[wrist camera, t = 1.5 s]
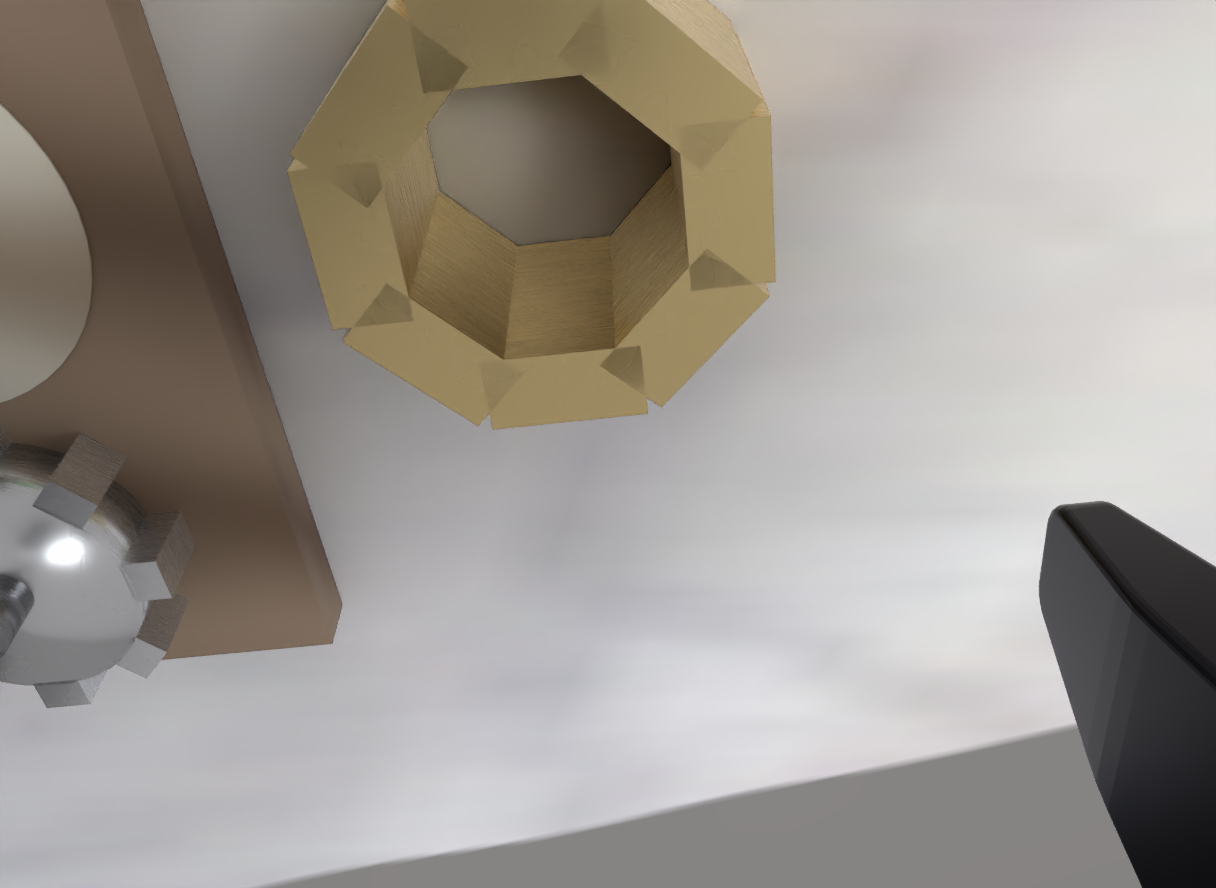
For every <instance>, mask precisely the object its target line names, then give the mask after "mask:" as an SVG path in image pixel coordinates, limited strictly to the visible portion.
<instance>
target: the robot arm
mask: <svg viewBox="0 0 1216 888" xmlns="http://www.w3.org/2000/svg"><path fill="white" fill-rule="evenodd" d="M1039 598H1040V605H1041V610H1042V614H1043V617H1044V621H1045V624H1046V627H1047V630H1048V633H1049V637H1050V640H1051V643H1052V646H1053V649H1054V652H1055V656H1056V659H1057V662H1058V665H1059V668H1060V672H1061V675H1062V678H1063V681H1064V684H1065V688H1066V691H1067V694H1068V697H1069V700H1070V704H1071V707H1072V710H1073V713H1074V716H1075V720H1076V723H1077V726H1078V729H1079V732H1080V735H1081V739H1082V742H1083V745H1084V748H1085V752H1086V755H1087V758H1088V760H1089V763H1090V766H1091V769H1092V772H1093V775H1094V778H1095V781H1096V784H1097V786H1098V788H1099V791H1100V793H1101V796H1102V798H1103V801H1104V803H1105V805H1106V808H1107V810H1108V812H1109V814H1110V817H1111V819H1112V821H1113V824H1114V826H1115V828H1116V830H1117V833H1118V835H1119V837H1120V839H1121V842H1122V844H1123V846H1124V848H1125V850H1126V853H1127V855H1128V857H1129V859H1130V862H1131V864H1132V866H1133V868H1134V870H1135V873H1136V875H1137V877H1138V879H1139V882H1140V884H1141V886H1142V888H1216V567H1215V566H1214V565H1212V564H1211V563H1209V562H1207V561H1206V560H1204V559H1202V558H1201V557H1199V556H1197V555H1196V554H1194V553H1192V552H1191V551H1189V550H1188V549H1186V548H1184V547H1183V546H1181V545H1179V544H1178V543H1176V542H1174V541H1173V540H1171V539H1170V538H1168V537H1166V536H1165V535H1163V534H1161V533H1160V532H1158V531H1156V530H1155V529H1153V528H1151V527H1150V526H1148V525H1147V524H1145V523H1143V522H1142V521H1140V520H1138V519H1137V518H1135V517H1133V516H1132V515H1130V514H1129V513H1127V512H1125V511H1124V510H1122V509H1120V508H1119V507H1117V506H1115V505H1113V504H1111V503H1109V502H1104V501H1095V502H1085V503H1075V504H1065V505H1060V506H1058V507H1056V508H1055V509H1054V510H1052V512H1051V514H1050V517H1049V519H1048V524H1047V531H1046V538H1045V545H1044V552H1043V559H1042V566H1041V573H1040V580H1039Z"/></svg>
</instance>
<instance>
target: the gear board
mask: <svg viewBox="0 0 1216 888" xmlns="http://www.w3.org/2000/svg"><path fill="white" fill-rule="evenodd" d="M0 422H1V424H2V426H3V428H4V430H5V432H6V434H7V436H8V438H9V440H10V442H11V443H16V444H25V445H32V446H38V447H42V448H46V449H50V450H54V451H57V452H60V453H63V454H66V453H67V452H68V450H69V449H70V447H71V446H72V444H73V443H74V441H75V440H76V438H77V437H78V435H79V434H80V432H82V433H84V434H86V435H88V436H89V437H91V438H93V439H95V440H97V441H99V442H101V443H103V444H104V445H106V446H108V447H110V448H112V449H114V450H116V451H117V452H119V453H121V454H123V455H125V456H127V457H126V459H125V461H124V462H123V464H122V466H121V467H120V469H119V471H118V473H117V474H116V476H115V478H114V479H113V480H115V481H116V482H117V483H119V484H120V485H121V486H122V487H123V488H125V489H126V490H127V491H128V492H129V493H130V494H131V495H132V496H133V497H134V498H135V499H136V500H137V501H138V502H139V503H140V505H141V506H142V507H143V508H144V510H145V511H146V512H147V514H150V513H160V512H170V511H181V514H182V516H183V518H184V521H185V523H186V525H187V528H188V530H189V533H190V535H191V537H192V540H193V542H194V544H195V548H194V550H193V552H192V555H191V557H190V559H189V561H188V563H187V566H186V568H185V570H184V572H183V575H182V577H181V579H180V581H179V583H178V586H177V588H176V590H175V592H176V593H178V594H180V595H182V596H184V597H186V598H188V599H190V600H189V602H188V605H187V607H186V609H185V612H184V614H183V616H182V619H181V621H180V623H179V626H178V628H177V630H176V633H175V635H174V637H173V640H172V642H171V644H170V647H169V649H168V651H167V653H166V654H165V656H164V657H163V658H162V659H161V660H164V659H175V658H185V657H196V656H207V655H217V654H228V653H239V652H249V651H260V650H271V649H281V648H292V647H303V646H314V645H324V644H332V643H333V639H334V635H335V632H336V628H337V624H338V620H339V616H340V613H341V609H342V602H341V599H340V596H339V593H338V590H337V587H336V584H335V581H334V578H333V575H332V572H331V569H330V566H329V563H328V560H327V557H326V554H325V551H324V548H323V545H322V542H321V539H320V536H319V533H318V530H317V527H316V524H315V521H314V518H313V515H312V512H311V509H310V506H309V503H308V500H307V497H306V494H305V491H304V488H303V485H302V482H301V480H300V477H299V474H298V471H297V468H296V465H295V462H294V459H293V456H292V453H291V450H290V447H289V444H288V441H287V438H286V435H285V432H284V429H283V426H282V423H281V420H280V417H279V414H278V411H277V408H276V405H275V402H274V399H273V396H272V393H271V390H270V387H269V384H268V381H267V378H266V375H265V372H264V369H263V366H262V363H261V360H260V357H259V354H258V351H257V349H256V346H255V343H254V340H253V337H252V334H251V331H250V328H249V325H248V322H247V319H246V316H245V313H244V310H243V307H242V304H241V301H240V298H239V295H238V292H237V289H236V286H235V283H234V280H233V277H232V274H231V271H230V268H229V265H228V262H227V259H226V256H225V253H224V250H223V247H222V244H221V241H220V238H219V235H218V232H217V229H216V226H215V223H214V221H213V218H212V215H211V212H210V209H209V206H208V203H207V200H206V197H205V194H204V191H203V188H202V185H201V182H200V179H199V176H198V173H197V170H196V167H195V164H194V161H193V158H192V155H191V152H190V149H189V146H188V143H187V140H186V137H185V134H184V131H183V128H182V125H181V122H180V119H179V116H178V113H177V110H176V107H175V104H174V101H173V98H172V95H171V93H170V90H169V87H168V84H167V81H166V78H165V75H164V72H163V69H162V66H161V63H160V60H159V57H158V54H157V51H156V48H155V45H154V42H153V39H152V36H151V33H150V30H149V27H148V24H147V21H146V18H145V15H144V12H143V9H142V6H141V3H140V0H0Z"/></svg>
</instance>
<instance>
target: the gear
mask: <svg viewBox="0 0 1216 888" xmlns="http://www.w3.org/2000/svg"><path fill="white" fill-rule="evenodd" d="M126 457H127V456H125V455H123V454H121V453H119V452H117V451H116V450H114V449H112V448H110V447H108V446H106V445H104V444H103V443H101V442H99V441H97V440H95V439H93V438H91V437H89V436H88V435H86V434H84V433H82V432H80V434H79V435H78V437H77V438H76V440H75V441H74V443H73V444H72V446H71V447H70V449H69V450H68V452H67V453H66V454H63V453H60V452H57V451H54V450H50V449H46V448H42V447H38V446H32V445H25V444H16V443H11V442H10V440H9V438H8V436H7V434H6V432H5V430H4V428H3V426H2V424H1V422H0V681H2V682H6V683H13V684H20V685H33V686H35V688H36V690H37V692H38V693H39V695H40V697H41V698H42V700H43V702H44V704H45V705H46V707H47V708H51V707H62V706H73V705H84V704H91V702H92V700H93V698H94V696H95V693H96V691H97V689H98V687H99V685H100V683H101V681H102V679H103V677H104V675H105V673H106V671H107V670H108V669H110V668H111V667H112V666H114V665H115V664H116V665H119V666H121V667H123V668H125V669H127V670H129V671H132V672H134V673H136V674H138V675H140V676H142V677H145V678H147V677H148V676H149V675H150V673H151V672H152V671H153V669H154V668H155V667H156V666H157V664H158V663H159V662H160V661H161V659H162V658H163V657H164V656H165V654H166V653H167V651H168V649H169V647H170V644H171V642H172V640H173V637H174V635H175V633H176V630H177V628H178V626H179V623H180V621H181V619H182V616H183V614H184V612H185V609H186V607H187V605H188V602H189V600H190V599H188V598H186V597H184V596H182V595H180V594H178V593H176V592H175V590H176V588H177V586H178V583H179V581H180V579H181V577H182V575H183V572H184V570H185V568H186V566H187V563H188V561H189V559H190V557H191V555H192V552H193V550H194V548H195V544H194V542H193V540H192V537H191V535H190V533H189V530H188V528H187V525H186V523H185V521H184V518H183V516H182V514H181V511H170V512H160V513H150V514H147V512H146V511H145V510H144V508H143V507H142V506H141V505H140V503H139V502H138V501H137V500H136V499H135V498H134V497H133V496H132V495H131V494H130V493H129V492H128V491H127V490H126V489H125V488H123V487H122V486H121V485H120V484H119V483H117V482H116V481H115V480H113V479H114V478H115V476H116V474H117V473H118V471H119V469H120V467H121V466H122V464H123V462H124V461H125V459H126Z"/></svg>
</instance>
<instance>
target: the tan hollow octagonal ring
mask: <svg viewBox="0 0 1216 888" xmlns="http://www.w3.org/2000/svg"><path fill="white" fill-rule="evenodd" d="M576 75H582V76H583V77H584V78H586V79H587V80H588V81H589V82H591V83H592V84H593V85H595V86H596V87H597V88H598V89H600V90H601V91H602V92H603V93H605V94H606V95H607V96H608V97H610V98H611V99H612V100H613V101H615V102H616V103H617V104H618V105H620V106H621V107H622V108H623V109H625V110H626V111H627V112H629V113H630V114H631V115H632V116H634V117H635V118H636V119H637V120H639V121H640V122H641V123H642V124H644V125H645V126H646V127H647V128H649V129H650V130H651V131H652V132H654V133H655V134H656V135H658V136H659V137H660V138H661V139H663V140H664V141H665V142H666V143H668V144H669V145H670V154H671V165H670V166H669V168H668V169H667V170H666V171H665V172H664V173H663V175H662V176H661V177H660V178H659V179H658V180H657V182H656V183H655V184H654V185H653V186H652V187H651V189H650V190H649V191H648V192H647V193H646V195H645V196H644V197H643V198H642V199H641V200H640V202H639V203H638V204H637V205H636V206H635V207H634V209H633V210H632V211H631V212H630V213H629V214H628V216H627V217H626V218H625V219H624V220H623V221H622V223H621V224H620V225H619V226H618V227H617V228H616V230H615V231H614V232H613V233H612V234H611V235H610V236H602V237H593V238H584V239H575V240H566V241H557V242H548V243H539V244H530V245H521V246H517V245H516V244H514V243H513V242H511V241H510V240H509V239H507V238H506V237H504V236H503V235H502V234H500V233H499V232H497V231H496V230H494V229H493V228H492V227H490V226H489V225H487V224H486V223H485V222H483V221H482V220H480V219H479V218H477V217H476V216H475V215H473V214H472V213H470V212H469V211H467V210H466V209H465V208H463V207H462V206H460V205H459V204H458V203H456V202H455V201H453V200H452V199H450V198H449V197H448V196H446V195H445V194H443V193H442V192H440V191H439V187H438V182H437V177H436V172H435V167H434V163H433V158H432V153H431V148H430V144H429V139H428V134H427V129H426V126H427V125H428V123H429V122H430V120H431V119H432V118H433V116H434V115H435V113H436V112H437V111H438V109H439V108H440V106H441V105H442V104H443V102H444V101H445V99H446V98H447V97H448V95H449V94H450V92H451V91H452V90H458V89H466V88H475V87H483V86H491V85H500V84H508V83H517V82H525V81H534V80H542V79H551V78H559V77H567V76H576ZM289 155H290V156H291V157H293V158H294V160H293V162H292V164H291V165H290V167H289V169H288V170H287V173H288V177H289V180H290V184H291V187H292V191H293V194H294V198H295V201H296V204H297V208H298V211H299V215H300V218H301V222H302V225H303V229H304V232H305V236H306V239H307V243H308V246H309V250H310V253H311V257H312V260H313V263H314V267H315V270H316V274H317V277H318V281H319V284H320V288H321V291H322V295H323V298H324V302H325V305H326V309H327V312H328V316H329V319H330V323H331V326H332V329H333V330H335V329H344V328H347V330H346V333H345V336H344V339H343V341H342V342H343V343H345V344H346V345H348V346H350V347H351V348H353V349H354V350H356V351H358V352H359V353H361V354H363V355H364V356H366V357H367V358H369V359H371V360H372V361H374V362H375V363H377V364H379V365H380V366H382V367H383V368H385V369H387V370H388V371H390V372H391V373H393V374H395V375H396V376H398V377H400V378H401V379H403V380H404V381H406V382H408V383H409V384H411V385H412V386H414V387H416V388H417V389H419V390H420V391H422V392H424V393H425V394H427V395H429V396H430V397H432V398H433V399H435V400H437V401H438V402H440V403H441V404H443V405H445V406H446V407H448V408H449V409H451V410H453V411H454V412H456V413H457V414H459V415H461V416H462V417H464V418H466V419H467V420H469V421H470V422H472V423H474V424H475V425H477V426H479V425H480V423H481V422H482V421H483V420H484V419H485V418H486V417H487V415H488V414H490V419H491V424H492V428H493V430H494V429H504V428H513V427H523V426H533V425H543V424H552V423H562V422H572V421H582V420H591V419H601V418H611V417H620V416H630V415H640V414H648V409H647V398H648V399H650V400H651V401H653V402H654V403H656V404H657V405H659V406H660V407H662V406H663V405H664V404H665V403H666V402H667V401H668V400H669V399H670V398H671V397H672V396H673V395H674V394H675V393H676V392H677V391H678V390H679V389H680V388H681V387H682V386H683V385H684V384H685V383H686V382H687V380H688V379H689V378H690V377H691V376H692V375H693V374H694V373H695V372H696V371H697V370H698V369H699V368H700V367H701V366H702V365H703V364H704V363H705V362H706V361H707V360H708V359H709V358H710V357H711V356H712V355H713V354H714V353H715V352H716V351H717V350H718V349H719V348H720V347H721V346H722V344H723V343H724V342H725V341H726V340H727V339H728V338H729V337H730V336H731V335H732V334H733V333H734V332H735V331H736V330H737V329H738V328H739V327H740V326H741V325H742V324H743V323H744V322H745V321H746V320H747V319H748V318H749V317H750V316H751V315H752V314H753V313H754V312H755V311H756V310H757V308H758V307H759V306H760V305H761V304H762V303H763V302H764V301H765V300H766V299H767V298H768V297H769V292H768V289H767V285H766V283H770V282H775V249H774V215H773V181H772V146H771V115H770V113H769V110H768V108H767V106H766V103H765V101H764V98H763V96H762V94H761V91H760V89H759V86H758V84H757V82H756V79H755V77H754V75H753V72H752V70H751V67H750V65H749V63H748V60H747V58H746V55H745V53H744V51H743V48H742V46H741V43H740V41H739V39H738V36H737V34H736V33H735V31H734V29H733V26H732V24H731V21H730V20H729V19H728V18H727V17H726V16H725V15H723V14H722V13H721V12H720V11H719V10H718V9H716V8H715V7H714V6H713V5H712V4H711V3H710V2H708V1H707V0H387V1H386V3H385V4H384V6H383V7H382V9H381V11H380V12H379V14H378V15H377V17H376V18H375V20H374V21H373V23H372V24H371V26H370V27H369V29H368V30H367V32H366V34H365V35H364V37H363V38H362V40H361V41H360V43H359V44H358V46H357V47H356V49H355V50H354V52H353V53H352V55H351V56H350V58H349V60H348V61H347V63H346V64H345V66H344V67H343V69H342V70H341V72H340V74H339V75H338V77H337V79H336V80H335V82H334V83H333V85H332V87H331V88H330V90H329V91H328V93H327V95H326V96H325V98H324V100H323V101H322V103H321V104H320V106H319V108H318V109H317V111H316V112H315V114H314V116H313V117H312V119H311V120H310V122H309V124H308V125H307V127H306V129H305V130H304V132H303V133H302V135H301V137H300V138H299V140H298V141H297V143H296V145H295V146H294V148H293V150H292V151H291V153H290V154H289Z"/></svg>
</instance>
